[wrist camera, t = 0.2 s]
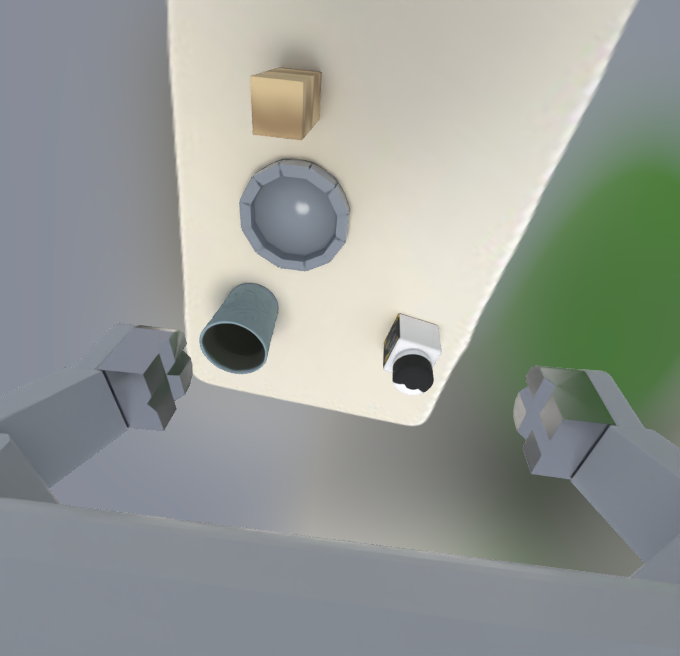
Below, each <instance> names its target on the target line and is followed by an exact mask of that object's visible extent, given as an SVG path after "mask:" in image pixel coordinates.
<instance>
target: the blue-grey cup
mask: <svg viewBox="0 0 680 656" xmlns="http://www.w3.org/2000/svg"><path fill="white" fill-rule="evenodd" d="M277 314H278V303H277V300H276V298H275V297H274V295H273V294H272V293H271V292H270V291H269V290H268V289H266V288H265V287H263V286H260V285H257V284H251V283H248V284H246V283H245V284H241V285H239V286H237V287H236V288H234V289H233V290H232V292H231V293H230V294H229V296H228V297H227V299H226V300H225V302H224V303H223V304H222V305H221V307H220V309H219V310H218V311H217V312H216V313H215V315H214V316H213V319H212V320H210V322H209V323H208V324H207V325H206V327H205V328H204V329H203V331H202V332H201V335H200V347H201V350H202V352H203V354H204V355H205V356H206V358H207V359H208V360H209V361H210V362H211V363H212V364H214V365H215V366H216V367H218V368H220V369H222V370H224V371H227V372H230V373H235V374H247V373H252V372H255V371H256V370H258V369H260V368H261V367H262V366H263V365H264V364H265V362H266V360H267V356H268V351H269V346H270V342H271V337H272V335H273V330H274V327H275V321H276V318H277Z"/></svg>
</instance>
